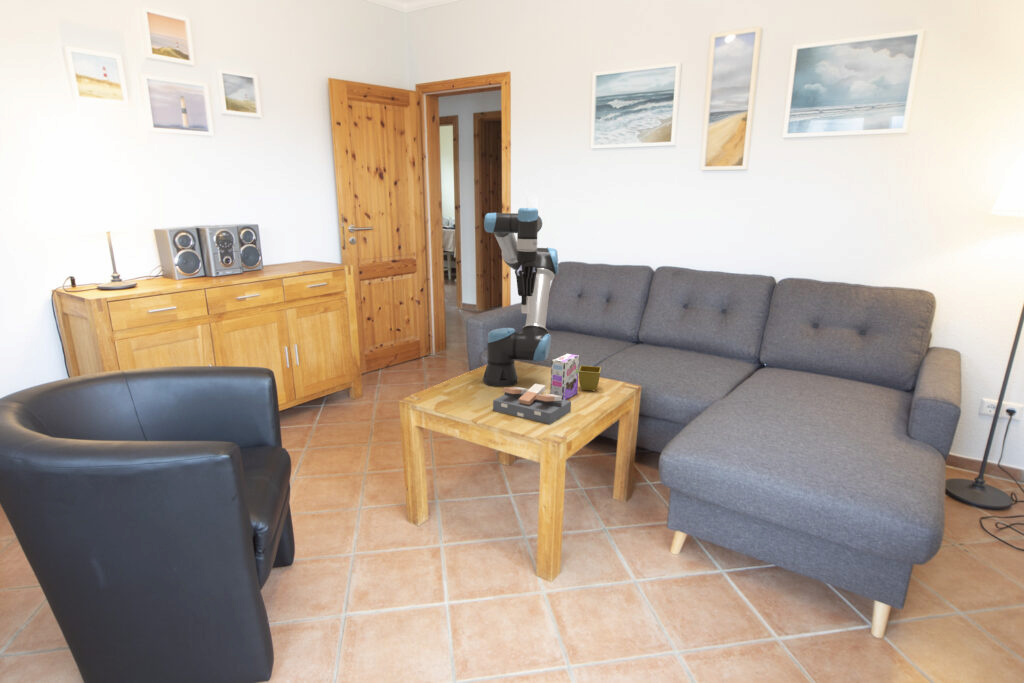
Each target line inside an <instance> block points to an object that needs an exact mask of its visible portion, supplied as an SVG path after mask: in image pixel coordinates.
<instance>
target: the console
mask: <svg viewBox="0 0 1024 683" xmlns="http://www.w3.org/2000/svg"><path fill="white" fill-rule="evenodd" d="M503 393H504V394H503V395H501V396H499V397H497V398H495V399H493V400H492V411H494V412H499V413H501V414H502V413H503V414H506V415H509V416H510V415H511V416H513V417H518V418H523V419H526V420H531V421H535V422H538V423H543V424H547V425H551V424H553V423H554V422H556V421H558V420H560V419H561V418H562V417H565V415H567V414H569V413H571V411H572V409H571V408H572V401H571V400H568V399H567V400H563V399H562V400H561V401H542V400H538V399H535V400H534V401H533V402H532V403H531V404H530V405H527V404H523V403H519V398H520V397H521V396H522V395H523V394H511V393H506V392H503Z"/></svg>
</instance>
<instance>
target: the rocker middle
mask: <svg viewBox="0 0 1024 683" xmlns="http://www.w3.org/2000/svg"><path fill="white" fill-rule="evenodd" d="M528 389H529V390H528V391H527V392H526V393H524V394H523V395H522V396H521V397H520V398H519V403H523V404H527V405H530V404H531V403H532V402H533V401H534V400H535V399H536V395H539V394H542V393H543V392H544V391H545V390H546V385H544V384H539V383H534V384H533V385H532V386H531V387H529V388H528Z"/></svg>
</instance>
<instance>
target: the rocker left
mask: <svg viewBox="0 0 1024 683" xmlns="http://www.w3.org/2000/svg"><path fill="white" fill-rule="evenodd" d="M529 389H530V388H524V387H519V386H517V387H512V386H511V387H510V386H502V392H503V393H505V392H506V393H511V394H524V393H526V392H527V391H528V390H529Z"/></svg>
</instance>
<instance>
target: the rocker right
mask: <svg viewBox="0 0 1024 683" xmlns="http://www.w3.org/2000/svg"><path fill="white" fill-rule="evenodd" d="M536 399H538V400H542V401H561V400H562V396H558V395H554V394H550V393H549V394H548V393H546V394H545V393H544V394H542V393H541V394H539V395H536Z"/></svg>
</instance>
